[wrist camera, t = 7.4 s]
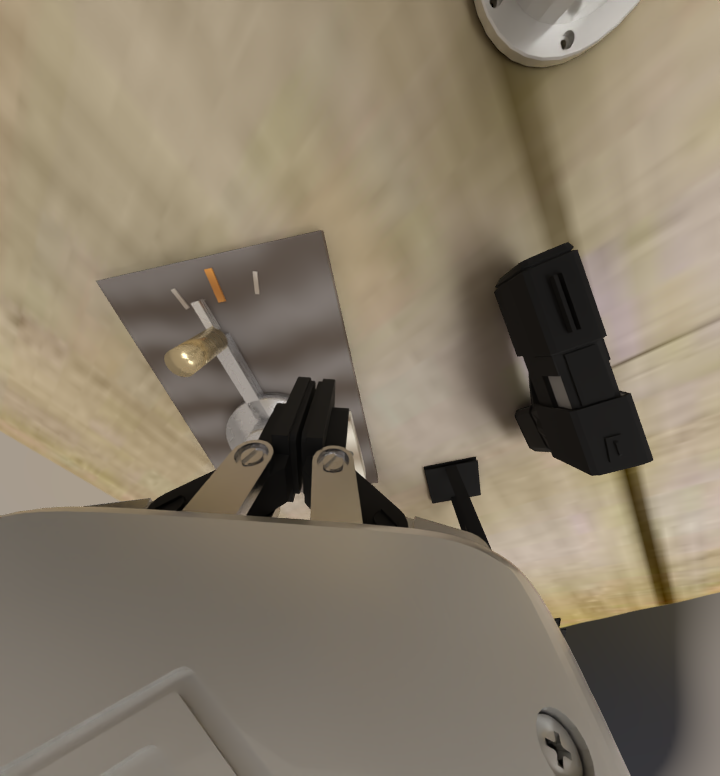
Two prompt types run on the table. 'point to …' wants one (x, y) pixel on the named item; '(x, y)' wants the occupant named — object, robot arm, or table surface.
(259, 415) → the crank handle
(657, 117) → the table surface
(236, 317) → the level board
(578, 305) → the toy
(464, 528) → the handbag
